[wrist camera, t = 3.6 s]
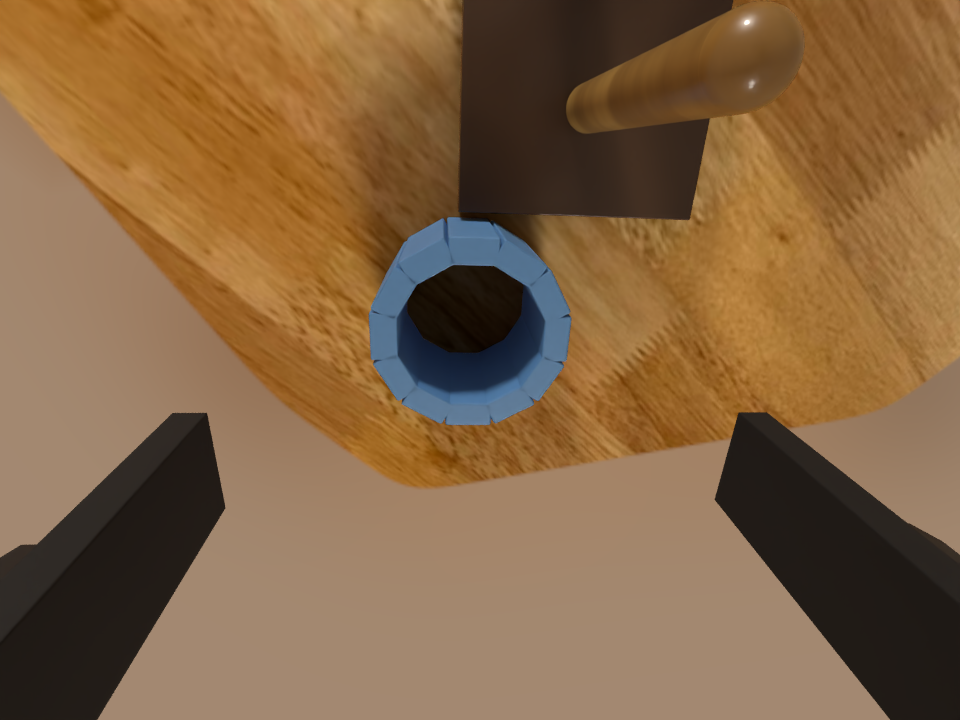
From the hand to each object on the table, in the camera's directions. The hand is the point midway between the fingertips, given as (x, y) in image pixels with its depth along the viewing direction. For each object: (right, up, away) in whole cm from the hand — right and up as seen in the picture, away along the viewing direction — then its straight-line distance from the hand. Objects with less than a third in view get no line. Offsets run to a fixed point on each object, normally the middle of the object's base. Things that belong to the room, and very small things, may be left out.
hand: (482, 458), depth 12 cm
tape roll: (-1, +6, +13) cm, 14 cm away
